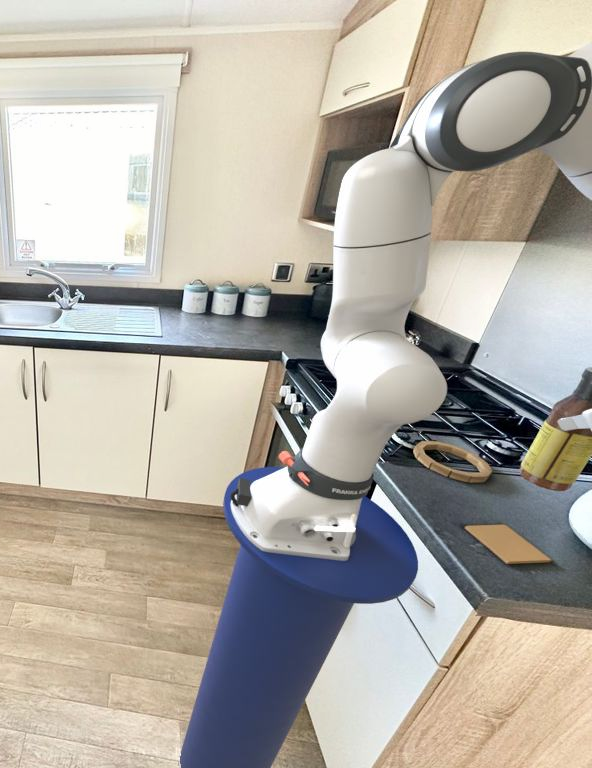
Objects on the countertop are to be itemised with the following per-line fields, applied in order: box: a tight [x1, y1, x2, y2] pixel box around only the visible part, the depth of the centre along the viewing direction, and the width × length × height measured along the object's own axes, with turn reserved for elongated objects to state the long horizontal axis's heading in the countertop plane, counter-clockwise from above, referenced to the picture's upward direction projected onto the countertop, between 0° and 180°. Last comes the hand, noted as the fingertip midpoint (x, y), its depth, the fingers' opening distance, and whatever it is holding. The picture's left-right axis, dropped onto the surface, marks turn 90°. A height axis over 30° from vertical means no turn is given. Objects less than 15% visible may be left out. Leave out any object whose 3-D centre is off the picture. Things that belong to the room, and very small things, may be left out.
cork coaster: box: [464, 524, 552, 565], centre depth 73 cm, size 8×8×1 cm
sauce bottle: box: [518, 366, 592, 492], centre depth 64 cm, size 6×6×20 cm
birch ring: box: [412, 440, 493, 484], centre depth 94 cm, size 13×13×2 cm
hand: (573, 420), depth 64 cm, fingers closed on sauce bottle, 6 cm apart
